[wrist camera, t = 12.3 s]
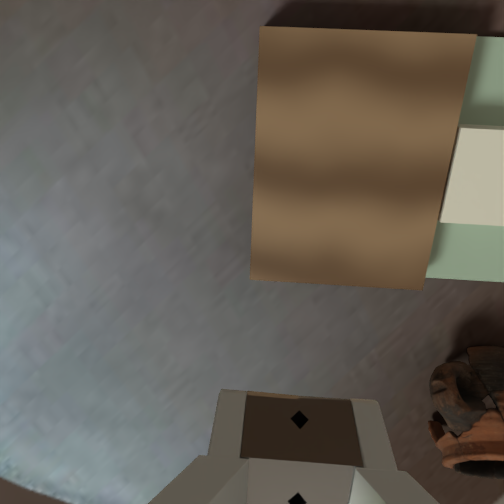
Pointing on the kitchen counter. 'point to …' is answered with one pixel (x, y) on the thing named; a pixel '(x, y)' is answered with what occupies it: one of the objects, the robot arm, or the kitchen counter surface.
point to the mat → (470, 235)
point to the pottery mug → (471, 412)
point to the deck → (353, 152)
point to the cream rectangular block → (475, 177)
